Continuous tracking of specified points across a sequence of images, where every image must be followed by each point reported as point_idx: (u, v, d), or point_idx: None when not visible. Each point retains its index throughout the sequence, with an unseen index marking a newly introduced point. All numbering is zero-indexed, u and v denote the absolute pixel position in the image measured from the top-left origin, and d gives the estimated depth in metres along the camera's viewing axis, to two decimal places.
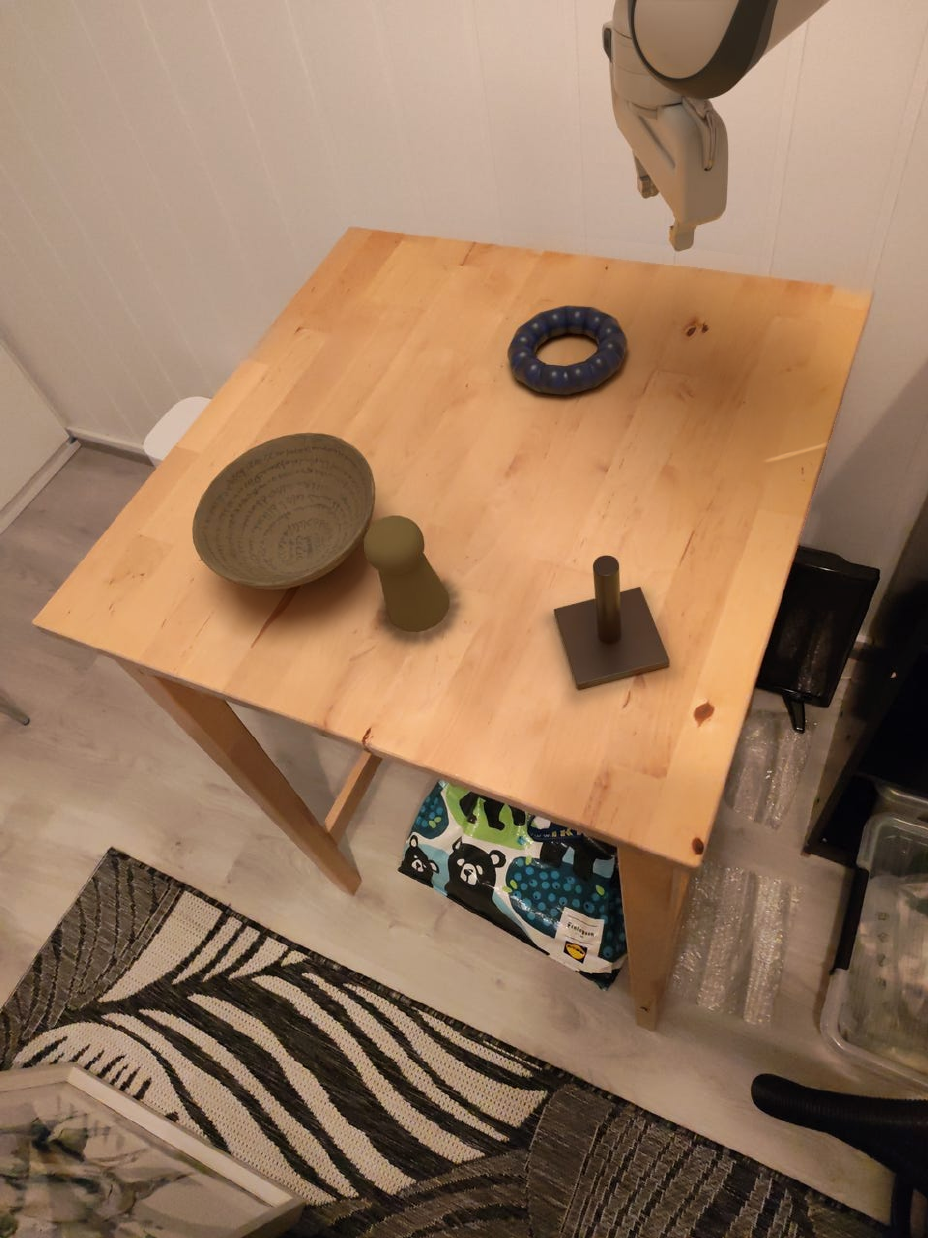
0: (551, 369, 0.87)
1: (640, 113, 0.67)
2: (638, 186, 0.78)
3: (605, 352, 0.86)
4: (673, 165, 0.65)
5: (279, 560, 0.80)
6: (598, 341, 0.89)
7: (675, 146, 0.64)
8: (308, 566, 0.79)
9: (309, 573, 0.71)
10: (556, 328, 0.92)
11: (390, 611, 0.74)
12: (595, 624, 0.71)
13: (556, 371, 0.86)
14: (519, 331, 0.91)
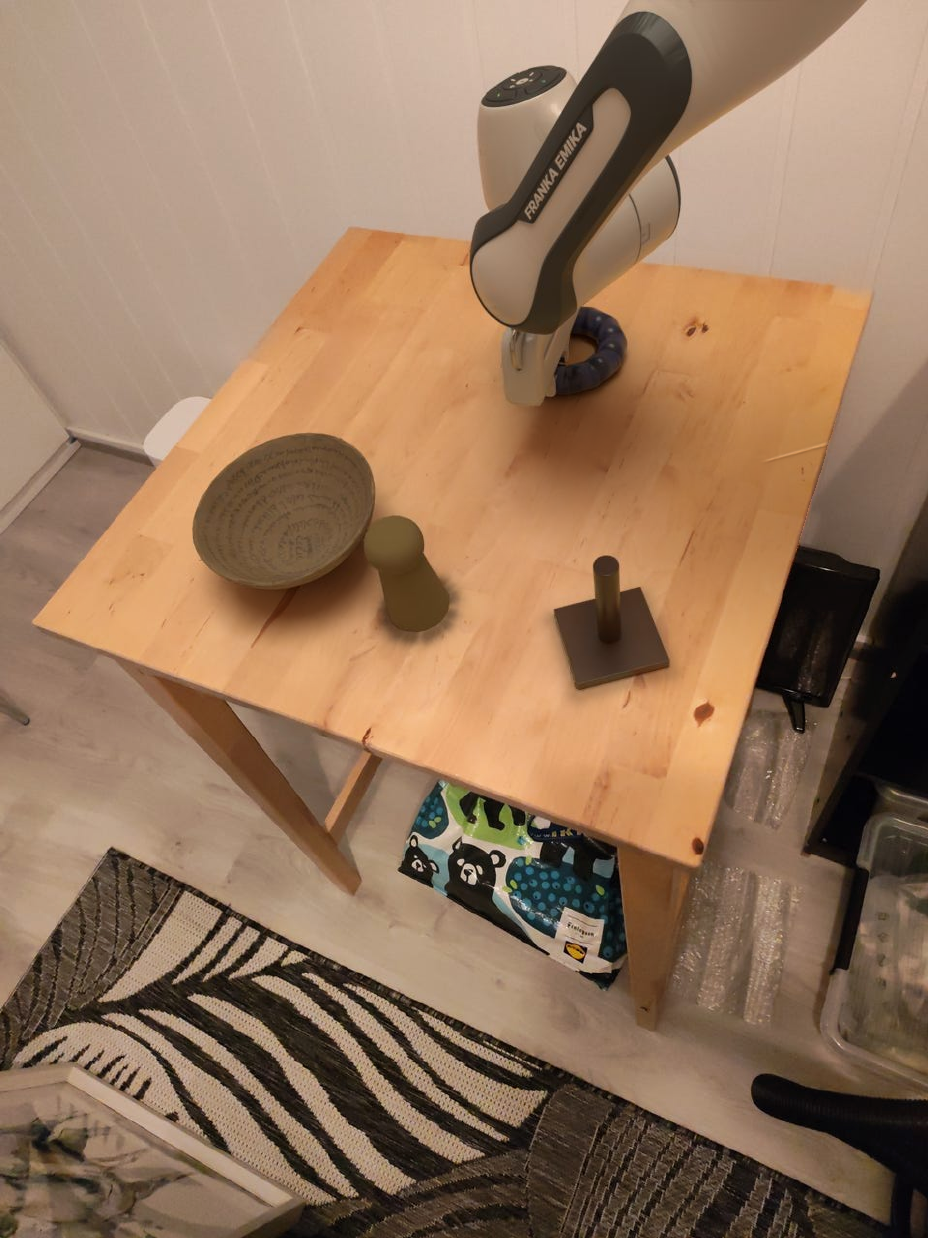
0: None
1: None
2: None
3: (605, 352, 0.86)
4: None
5: (279, 560, 0.80)
6: (598, 341, 0.89)
7: None
8: (308, 566, 0.79)
9: (309, 573, 0.71)
10: None
11: (390, 611, 0.74)
12: (595, 624, 0.71)
13: (556, 371, 0.86)
14: None
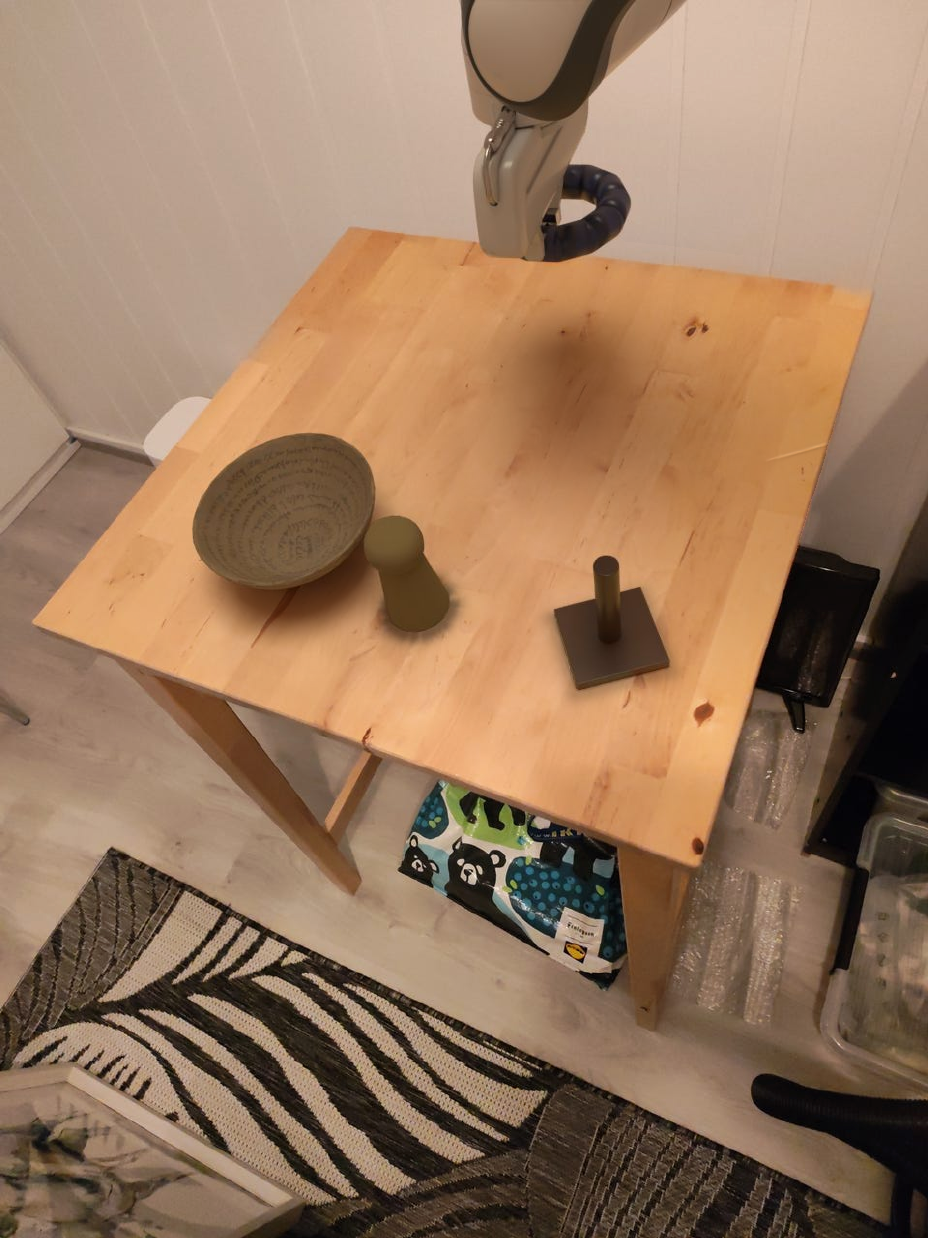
0: None
1: (491, 127, 0.65)
2: None
3: (604, 209, 0.72)
4: None
5: (279, 560, 0.80)
6: (596, 202, 0.75)
7: None
8: (308, 566, 0.79)
9: (309, 573, 0.71)
10: None
11: (390, 611, 0.74)
12: (595, 624, 0.71)
13: (545, 231, 0.72)
14: None
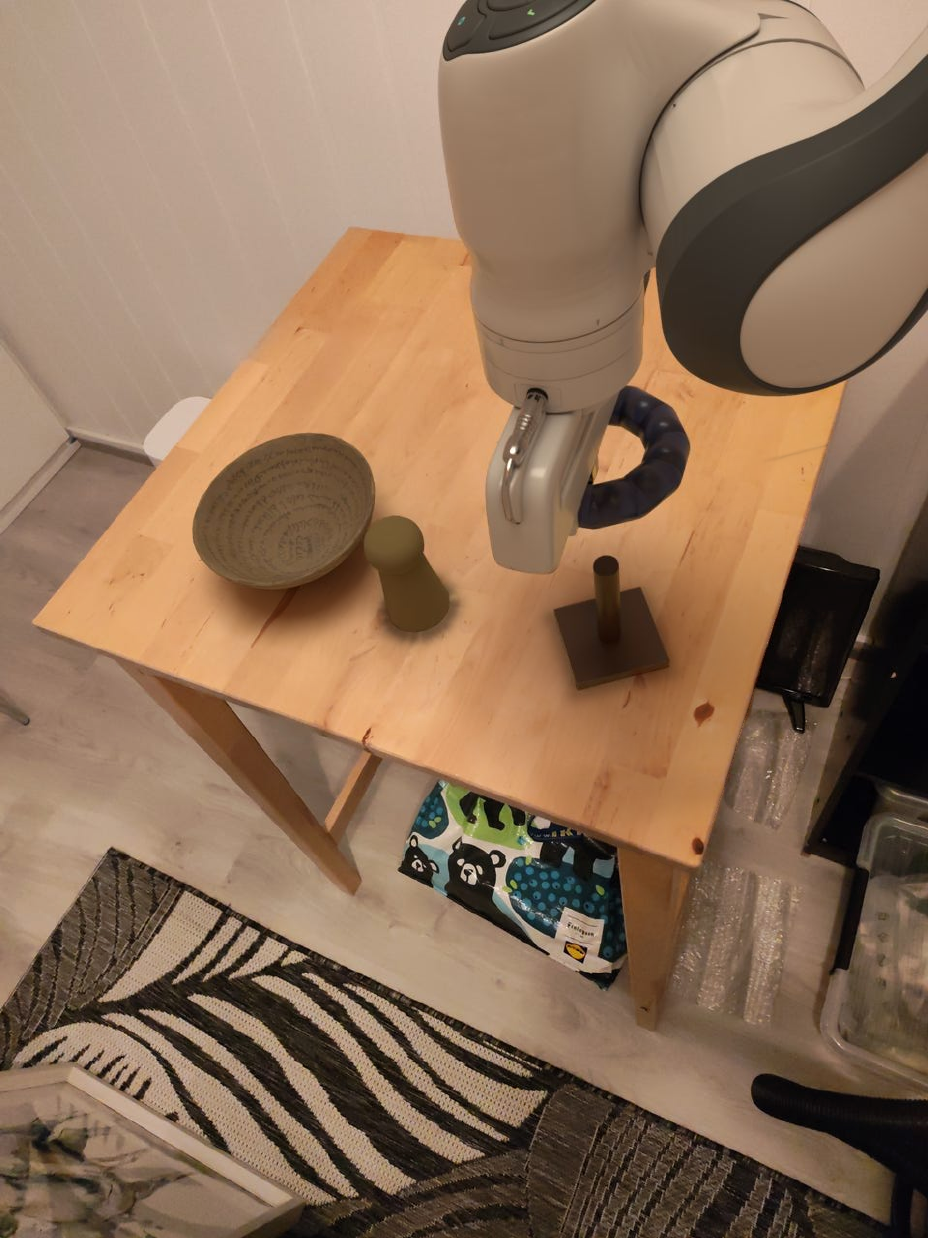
0: None
1: None
2: None
3: (657, 465, 0.54)
4: None
5: (279, 560, 0.80)
6: (644, 442, 0.57)
7: None
8: (308, 566, 0.79)
9: (309, 573, 0.71)
10: None
11: (390, 611, 0.74)
12: (595, 624, 0.71)
13: None
14: None
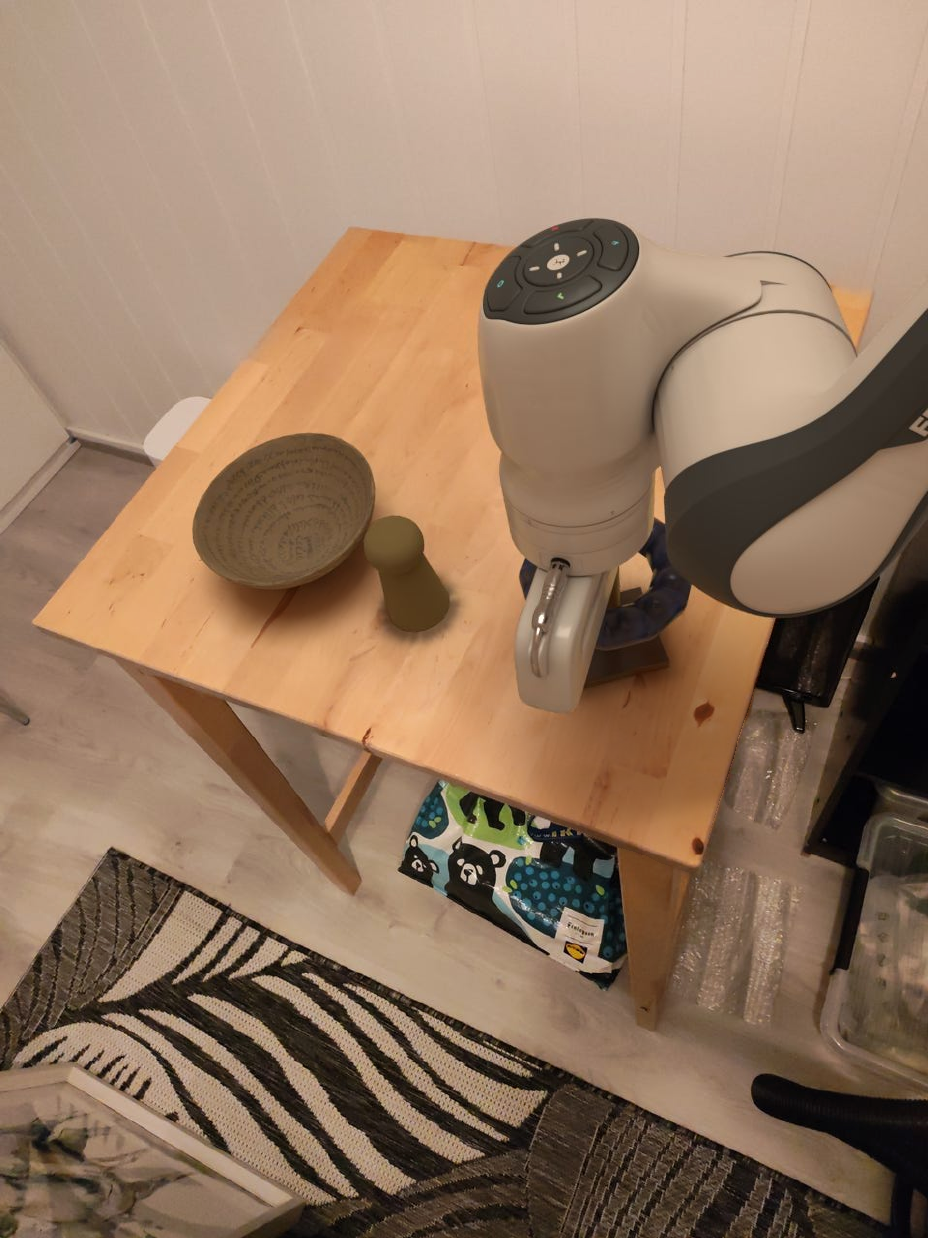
0: None
1: None
2: None
3: (665, 593, 0.59)
4: None
5: (279, 560, 0.80)
6: (652, 566, 0.62)
7: None
8: (308, 566, 0.79)
9: (309, 573, 0.71)
10: None
11: (390, 611, 0.74)
12: None
13: None
14: None
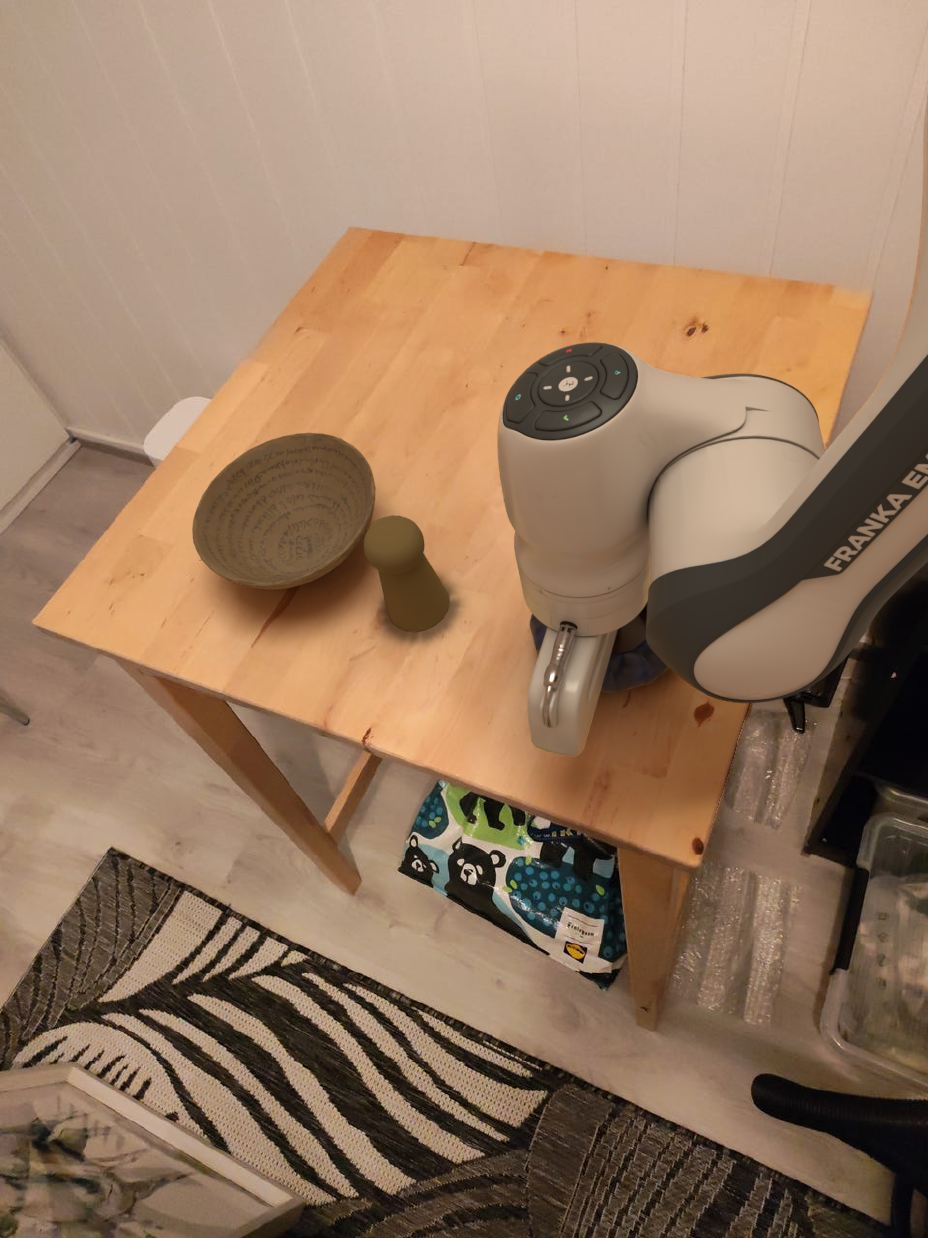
0: None
1: None
2: None
3: None
4: None
5: (279, 560, 0.80)
6: None
7: None
8: (308, 566, 0.79)
9: (309, 573, 0.71)
10: None
11: (390, 611, 0.74)
12: None
13: None
14: None
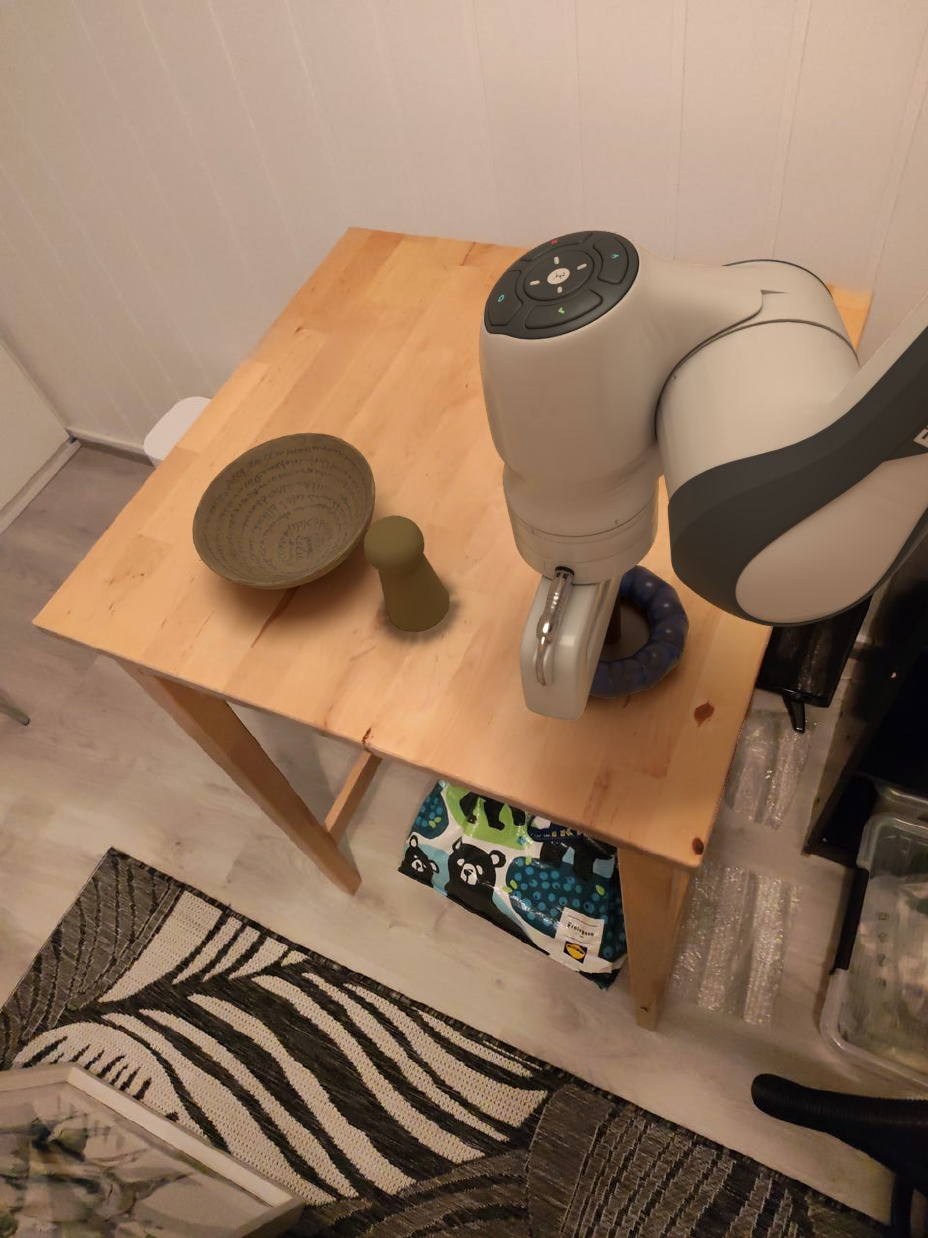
0: None
1: None
2: None
3: (662, 647, 0.65)
4: None
5: (279, 560, 0.80)
6: (650, 619, 0.68)
7: None
8: (308, 566, 0.79)
9: (309, 573, 0.71)
10: None
11: (390, 611, 0.74)
12: None
13: (596, 673, 0.65)
14: None
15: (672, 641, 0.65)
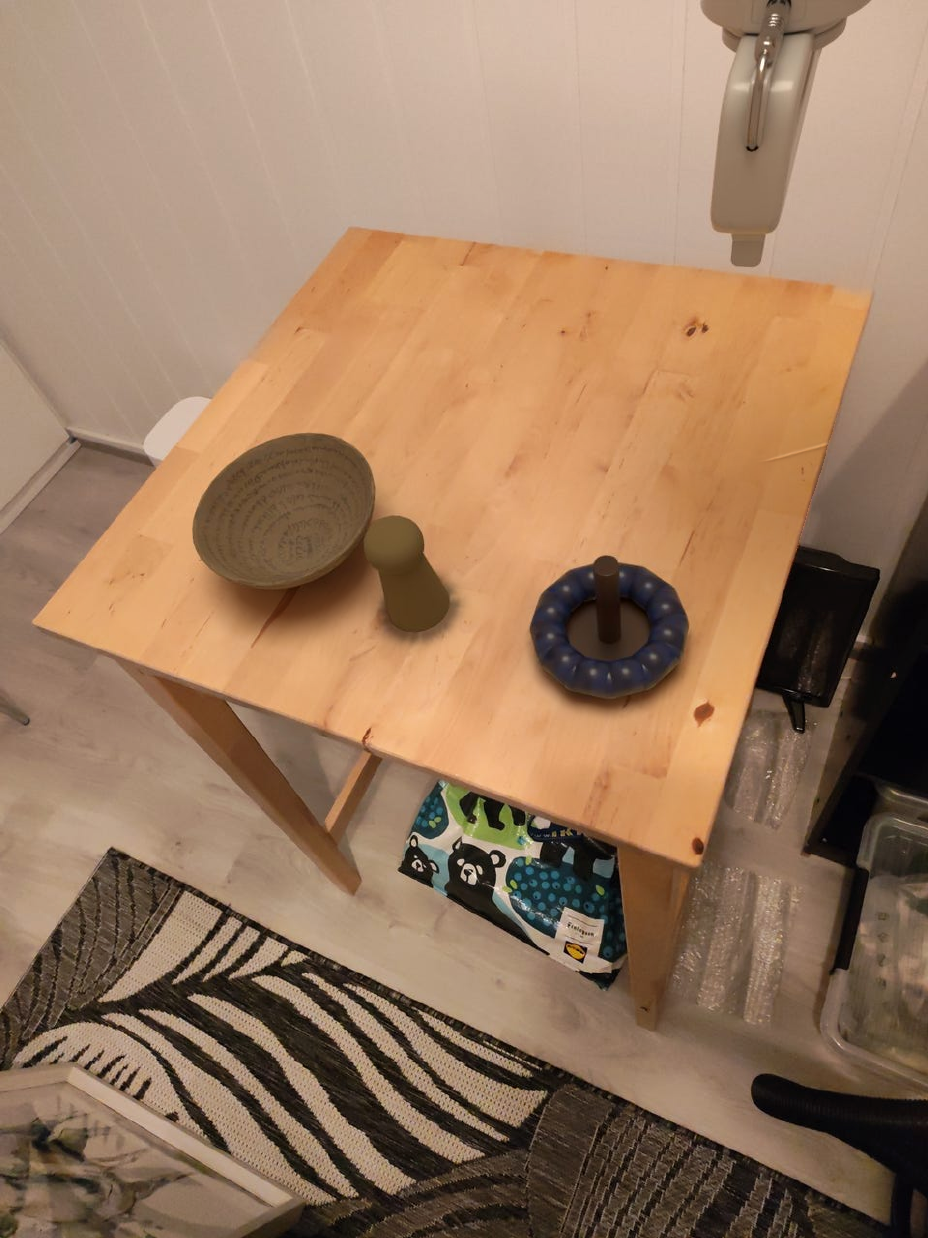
0: (590, 669, 0.65)
1: (725, 40, 0.44)
2: None
3: (662, 647, 0.65)
4: None
5: (279, 560, 0.80)
6: (650, 619, 0.68)
7: None
8: (308, 566, 0.79)
9: (309, 573, 0.71)
10: (593, 593, 0.70)
11: (390, 611, 0.74)
12: (595, 624, 0.71)
13: (596, 673, 0.65)
14: (545, 599, 0.69)
15: (672, 641, 0.65)
